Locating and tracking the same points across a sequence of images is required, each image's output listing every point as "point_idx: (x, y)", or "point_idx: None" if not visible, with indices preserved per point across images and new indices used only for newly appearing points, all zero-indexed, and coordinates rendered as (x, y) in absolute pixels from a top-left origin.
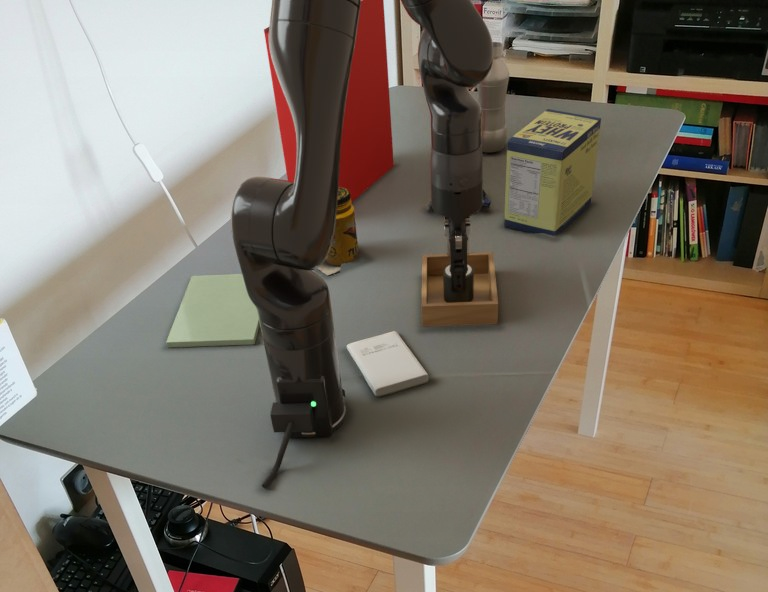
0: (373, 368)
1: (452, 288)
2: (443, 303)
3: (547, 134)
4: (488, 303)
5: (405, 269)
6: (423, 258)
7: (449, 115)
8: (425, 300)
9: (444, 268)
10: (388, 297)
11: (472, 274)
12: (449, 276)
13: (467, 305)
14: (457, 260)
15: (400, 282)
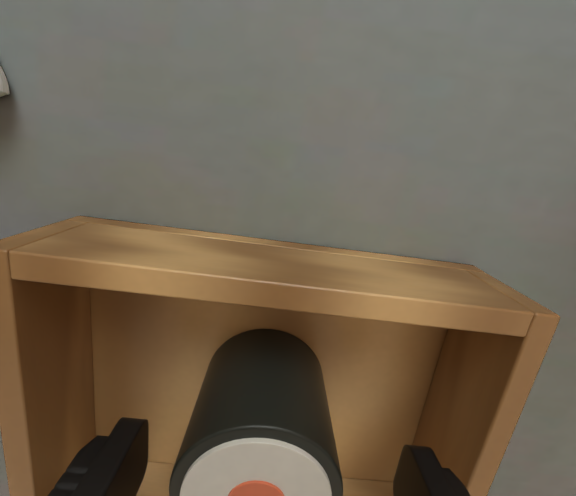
0: None
1: (112, 434)
2: (12, 363)
3: None
4: None
5: (573, 200)
6: (517, 318)
7: None
8: (41, 277)
9: (298, 436)
10: (367, 92)
11: None
12: (198, 450)
13: (7, 457)
14: (403, 482)
15: (475, 165)
